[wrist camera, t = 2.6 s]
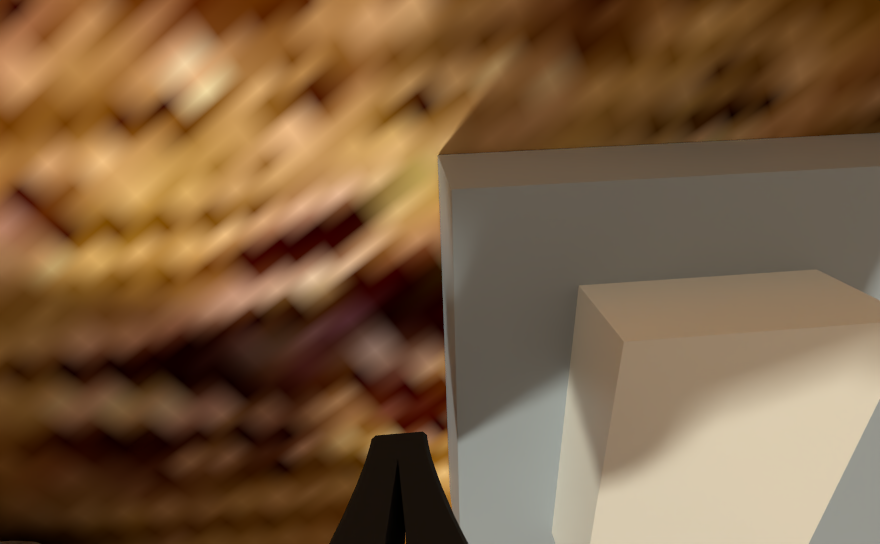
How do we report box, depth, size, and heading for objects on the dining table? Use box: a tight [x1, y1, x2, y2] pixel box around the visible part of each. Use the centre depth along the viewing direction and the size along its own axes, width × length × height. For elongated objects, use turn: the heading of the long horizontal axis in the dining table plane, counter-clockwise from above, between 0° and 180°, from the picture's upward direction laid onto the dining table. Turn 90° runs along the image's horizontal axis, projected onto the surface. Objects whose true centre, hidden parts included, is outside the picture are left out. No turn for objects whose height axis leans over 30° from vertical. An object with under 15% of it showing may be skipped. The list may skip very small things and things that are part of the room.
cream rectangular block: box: [552, 269, 880, 544], centre depth 12 cm, size 9×6×2 cm, turn 2°
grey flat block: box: [438, 133, 880, 544], centre depth 15 cm, size 14×16×4 cm
